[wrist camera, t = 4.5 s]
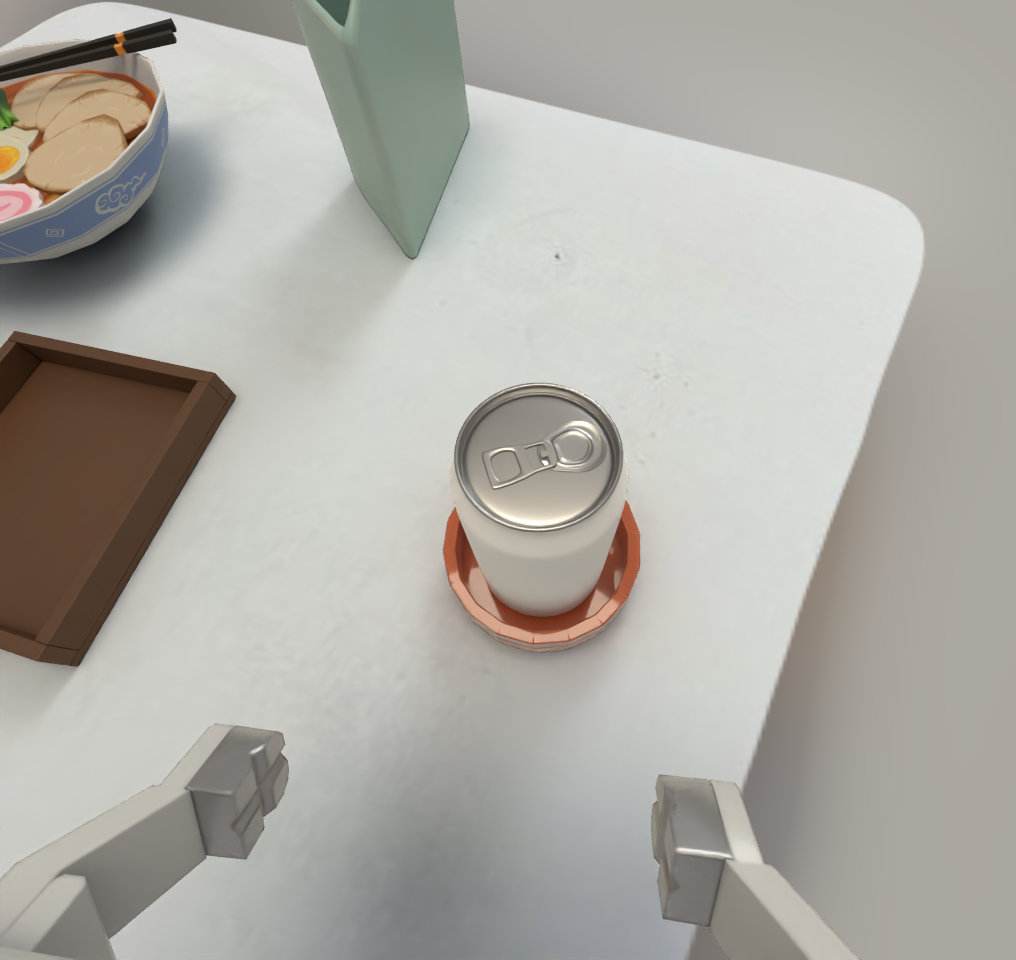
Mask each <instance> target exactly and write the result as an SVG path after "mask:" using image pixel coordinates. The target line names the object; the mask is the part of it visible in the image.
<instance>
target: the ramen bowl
mask: <svg viewBox="0 0 1016 960" xmlns="http://www.w3.org/2000/svg"><path fill="white" fill-rule="evenodd" d="M173 32H177V31H176V27H175V25H174V23H173V21H172V19H171V18H170V19H167V20H163V21H160V22H156V23H152V24H149V25H145V26H142V27H138V28H135V29H131V30H127V31H124V32H122V33H120V34H113V35H109V36H106V37H102V38H99V39H95V40H91V41H90V40H80V39H75V40H66V41H58V42H50V43H42V44H34V45H25V46H21V47H18V48H15V49H12V50H8V51H5V52H2V53H0V264H7V263H16V262H25V261H35V260H44V259H53V258H57V257H60V256H62V255H65V254H68V253H70V252H73V251H76V250H78V249H81V248H84V247H86V246H89V245H92V244H94V243H96V242H97V241H99V240H100V239H102V238H103V237H105V236H106V235H108V234H110V233H111V232H113V231H114V230H116V229H117V228H119V227H120V226H122V225H123V224H125V223H126V222H128V221H129V219H130V218H131V217H132V216H133V215H134V214H135V213H136V211H137V210H138V209H139V208H140V207H141V206H142V204H143V203H144V202H145V201H146V200H147V199H148V198H149V196H150V195H151V193H152V191H153V190H154V188H155V186H156V184H157V181H158V178H159V175H160V172H161V169H162V166H163V163H164V160H165V157H166V150H167V143H168V112H167V106H166V100H165V94H164V89H163V87H162V84H161V82H160V79H159V76H158V74H157V71H156V69H155V66H154V64H153V61H151V60H149V59H147V58H146V57H144V56H142V55H140V54H139V53H137V52H138V51H143V50H147V49H152V48H156V47H161V46H165V45H170V44H174V43H176V37H175V36H174V34H173Z"/></svg>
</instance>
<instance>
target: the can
mask: <svg viewBox="0 0 1016 960" xmlns="http://www.w3.org/2000/svg"><path fill="white" fill-rule="evenodd" d="M628 480H629V474H628V465H627V460H626V457H625V454H624V451H623V447H622V442H621V438H620V435H619V432H618V430H617V428H616V426H615V424H614V422H613V420H612V419H611V417H610V416H609V415H608V413H607V412H606V411H605V410H604V409H603V408H602V407H601V406H600V405H599V404H598V403H597V402H595V401H594V400H593V399H591V398H590V397H588V396H587V395H585V394H583V393H581V392H579V391H577V390H575V389H572V388H569V387H566V386H562V385H558V384H551V383H528V384H521V385H517V386H513V387H510V388H507V389H504V390H502V391H500V392H498V393H496V394H494V395H492V396H491V397H489V398H488V399H486V400H485V401H483V402H482V403H481V404H480V405H479V406H478V407H477V408H475V410H474V411H473V412H472V413H471V414H470V415H469V417H468V418H467V419H466V421H465V422H464V424H463V426H462V428H461V430H460V432H459V435H458V438H457V441H456V445H455V452H454V458H453V461H452V466H451V474H450V483H451V492H452V497H453V501H454V505H455V508H456V511H457V513H458V516H459V519H460V521H461V524H462V526H463V529H464V531H465V533H466V536H467V538H468V541H469V543H470V546H471V548H472V550H473V553H474V555H475V558H476V560H477V562H478V565H479V567H480V569H481V572H482V574H483V576H484V578H485V580H486V582H487V584H488V586H489V588H490V589H491V591H492V592H493V593H494V595H495V596H496V597H497V598H498V599H499V600H500V601H501V602H502V603H504V604H505V605H506V606H508V607H509V608H511V609H513V610H515V611H517V612H519V613H522V614H525V615H529V616H535V617H549V616H555V615H559V614H563V613H565V612H568V611H570V610H572V609H573V608H575V607H577V606H578V605H579V604H581V603H582V602H583V601H584V600H585V599H586V598H587V597H588V596H589V595H590V593H591V592H592V591H593V589H594V588H595V586H596V584H597V582H598V580H599V577H600V575H601V572H602V570H603V567H604V564H605V561H606V558H607V556H608V553H609V550H610V547H611V544H612V541H613V538H614V535H615V532H616V529H617V527H618V524H619V521H620V518H621V514H622V511H623V508H624V505H625V501H626V497H627V492H628Z"/></svg>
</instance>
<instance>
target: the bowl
mask: <svg viewBox="0 0 1016 960" xmlns="http://www.w3.org/2000/svg"><path fill="white" fill-rule="evenodd" d="M443 555H444V560H445V565H446V570H447V574H448V579H449V583H450V586H451V587H452V589H453V590H454V592H455V594H456V595H457V597H458V598H459V600H460V601H461V603H462V604H463V606H464V608H465V609H466V611H467V612H468V614H469V615H470V617H471V618H472V620H473V621H474V622H475V623H476V624H477V625H478V626H479V627H481V628H482V629H483V630H484V631H485V632H487V633H488V634H490V635H491V636H492V637H494V638H495V639H497V640H498V641H499V642H501V643H503V644H507V645H510V646H512V647H515V648H518V649H523V650H527V651H532V652H551V651H559V650H566V649H570V648H572V647H574V646H577V645H579V644H581V643H583V642H585V641H587V640H589V639H591V638H592V637H594V636H596V635H598V634H599V633H600V632H601V631H602V630H603V629H604V628H605V627H606V626H607V625H608V624H609V623H610V622H611V620H612V619H613V618H614V617H615V616H616V615H617V614H618V613H619V612H620V610H621V609H622V607H623V605H624V604H625V602H626V600H627V599H628V597H629V594H630V592H631V589H632V587H633V584H634V581H635V579H636V576H637V574H638V571H639V569H640V534H639V530H638V527H637V525H636V522H635V519H634V517H633V514H632V512H631V509H630V507H629V504H628V503H627V501H625V505H624V508H623V511H622V514H621V518H620V521H619V524H618V527H617V529H616V532H615V535H614V538H613V541H612V544H611V547H610V550H609V553H608V556H607V558H606V561H605V564H604V567H603V570H602V572H601V575H600V577H599V580H598V582H597V584H596V586H595V588H594V589H593V591H592V592H591V593H590V595H589V596H588V597H587V598H586V599H585V600H584V601H583V602H582V603H581V604H579V605H578V606H577V607H575V608H573V609H572V610H570V611H568V612H565V613H563V614H559V615H555V616H549V617H535V616H529V615H525V614H522V613H519V612H517V611H515V610H513V609H511V608H509V607H508V606H506V605H505V604H504V603H502V602H501V601H500V600H499V599H498V598H497V597H496V596H495V595H494V593H493V592H492V591H491V589H490V588H489V586H488V584H487V582H486V580H485V578H484V576H483V574H482V572H481V569H480V567H479V565H478V562H477V560H476V558H475V555H474V553H473V550H472V548H471V546H470V543H469V541H468V538H467V536H466V533H465V531H464V529H463V526H462V524H461V521H460V519H459V516H458V513H457V511H456V508H454V510H453V511H452V513H451V515H450V517H449V519H448V522H447V528H446V534H445V541H444V547H443Z"/></svg>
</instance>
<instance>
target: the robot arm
mask: <svg viewBox="0 0 1016 960" xmlns="http://www.w3.org/2000/svg"><path fill="white" fill-rule="evenodd" d="M284 746H285V742H284V737H283V733H281V732H277V731H270V730H263V729H256V728H249V727H242V726H233V725H226V724H219V723H216V724H214V725H212V726H211V727H209V728H208V729H207V730H206V731H205V732H204V733H203V735H202V736H201V737H200V738H199V739H198V740H197V742H196V743H195V744H194V745H193V746H192V748H191V749H190V750H189V751H188V752H187V753H186V755H185V756H184V757H183V758H182V759H181V761H180V762H179V763H178V764H177V765H176V766H175V768H174V769H173V770H172V771H171V772H170V774H169V775H168V776H167V777H166V778H165V779H164V781H163V782H162V783H161V784H160V785H159V786H155V785H152V786H150V787H149V788H147V789H145V790H143V791H142V792H140V793H138V794H136V795H135V796H133V797H131V798H129V799H128V800H126V801H124V802H122V803H121V804H119V805H117V806H115V807H114V808H112V809H110V810H108V811H107V812H105V813H103V814H101V815H100V816H98V817H96V818H94V819H93V820H91V821H89V822H87V823H86V824H84V825H82V826H80V827H79V828H77V829H75V830H73V831H72V832H70V833H68V834H66V835H65V836H63V837H61V838H59V839H58V840H56V841H54V842H52V843H51V844H49V845H47V846H45V847H44V848H42V849H40V850H38V851H37V852H35V853H33V854H31V855H30V856H28V857H26V858H24V859H23V860H21V861H19V862H17V863H16V864H15V865H14V866H13V867H12V868H11V869H10V870H9V871H8V872H7V873H6V874H5V875H4V876H3V877H2V878H1V879H0V960H116V957H115V955H114V952H113V949H112V947H111V944H110V941H109V939H110V938H111V937H112V936H114V935H115V934H116V933H117V932H118V931H120V930H121V929H122V928H123V927H124V926H126V925H127V924H128V923H129V922H130V921H132V920H133V919H134V918H135V917H136V916H138V915H139V914H140V913H141V912H142V911H144V910H145V909H146V908H147V907H148V906H150V905H151V904H152V903H153V902H154V901H156V900H157V899H158V898H159V897H160V896H162V895H163V894H164V893H165V892H166V891H168V890H169V889H170V888H171V887H172V886H173V885H175V884H176V883H177V882H178V881H179V880H181V879H182V878H183V877H184V876H185V875H187V874H188V873H189V872H190V871H191V870H193V869H194V868H195V867H196V866H197V865H199V864H200V863H201V862H202V861H203V860H205V859H206V855H209V856H218V857H227V858H236V859H247V857H248V855H249V854H250V852H251V850H252V849H253V847H254V845H255V843H256V842H257V840H258V838H259V837H260V835H261V833H262V831H263V830H264V819H263V817H264V816H266V815H267V814H268V813H270V812H271V811H273V810H274V809H275V808H276V807H277V805H278V804H279V802H280V800H281V798H282V796H283V794H284V791H285V788H286V785H287V782H288V774H289V766H288V760H287V759H286V758H285V757H284V756H283V755H282V753H281V750H282V749H283V747H284ZM656 795H657V801H656V802H655V803H654V804H653V808H652V816H651V836H652V847H653V855H654V858H655V859H656V861H657V862H658V863H659V865H660V867H659V873H658V880H657V883H658V890H659V896H660V903H661V910H662V917H663V919H666V920H672V921H678V922H684V923H689V924H695V925H701V926H707V927H710V929H709V930H710V932H711V933H712V935H713V936H714V938H715V939H716V941H717V943H718V944H719V945H720V947H721V949H722V950H723V952H724V953H725V955H726V956H727V958H728V960H861V959H859V957H857V955H856V954H855V953H854V952H853V951H852V950H851V949H850V948H849V947H848V946H847V945H846V944H845V942H844V941H843V940H842V939H841V938H840V937H839V936H838V935H837V934H836V933H835V932H834V931H833V930H832V929H831V927H830V926H829V925H828V924H827V923H826V922H825V921H824V920H823V919H822V918H821V917H820V916H819V915H818V914H817V913H816V912H815V910H814V909H813V908H812V907H811V906H810V905H809V904H808V903H807V902H806V901H805V900H804V899H803V897H802V896H801V895H800V894H799V893H798V892H797V891H796V890H795V889H794V888H793V887H792V886H791V885H790V883H788V881H787V880H786V879H785V878H784V877H783V876H782V875H781V874H780V873H779V872H778V871H777V870H776V868H775V867H774V866H772V865H767V864H764V861H763V858H762V855H761V852H760V850H759V846H758V843H757V841H756V838H755V835H754V832H753V829H752V826H751V823H750V820H749V817H748V814H747V811H746V808H745V805H744V802H743V799H742V796H741V793H740V790H739V788H738V786H737V785H736V784H735V783H733V782H723V781H714V780H707V779H698V778H689V777H679V776H669V775H659V776H658V778H657V782H656Z"/></svg>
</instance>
